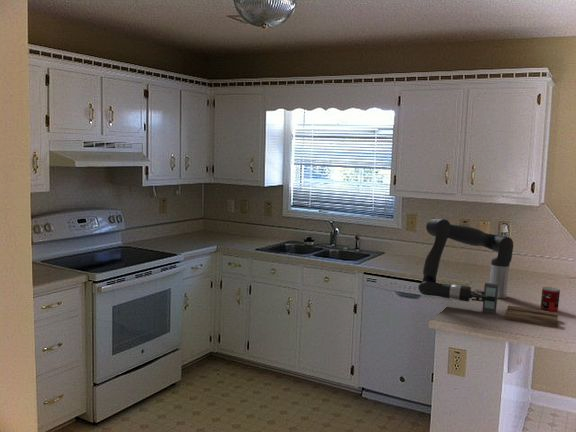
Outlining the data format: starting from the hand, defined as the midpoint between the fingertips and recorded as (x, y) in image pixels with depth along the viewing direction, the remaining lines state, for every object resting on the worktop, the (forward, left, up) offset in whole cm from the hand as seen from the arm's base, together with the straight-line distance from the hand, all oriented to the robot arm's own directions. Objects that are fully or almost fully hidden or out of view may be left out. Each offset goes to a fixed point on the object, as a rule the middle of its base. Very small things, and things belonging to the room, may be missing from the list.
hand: (495, 298), depth 276 cm
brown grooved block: (+1, +17, -8) cm, 18 cm away
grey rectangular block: (0, -2, -8) cm, 8 cm away
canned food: (-23, +24, -8) cm, 34 cm away
